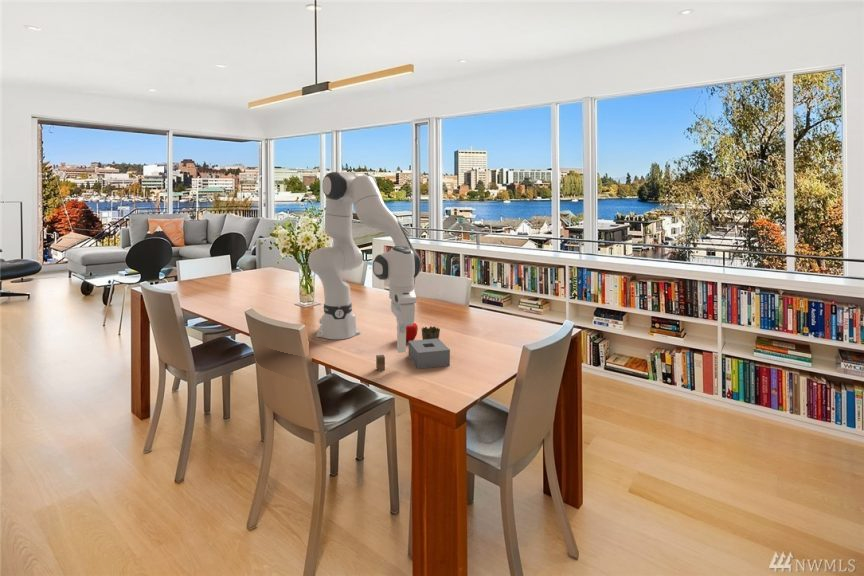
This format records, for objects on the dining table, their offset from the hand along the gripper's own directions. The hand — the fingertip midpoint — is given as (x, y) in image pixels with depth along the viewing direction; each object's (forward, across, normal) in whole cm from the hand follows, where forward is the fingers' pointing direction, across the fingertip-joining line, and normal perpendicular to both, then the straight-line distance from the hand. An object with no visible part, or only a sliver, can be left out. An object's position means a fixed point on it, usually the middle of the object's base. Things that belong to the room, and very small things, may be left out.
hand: (401, 330), depth 168 cm
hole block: (+14, -4, +11) cm, 18 cm away
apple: (+14, -28, +9) cm, 33 cm away
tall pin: (+8, 0, 0) cm, 8 cm away
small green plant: (+14, -18, +16) cm, 28 cm away
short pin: (+14, 0, -8) cm, 16 cm away
